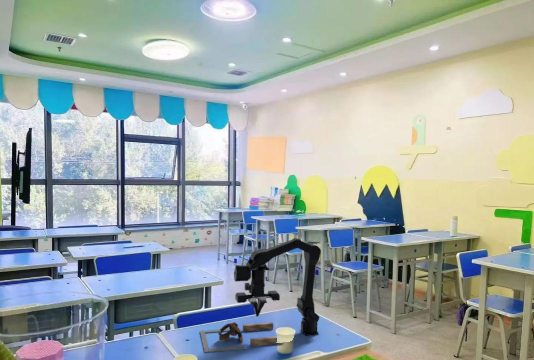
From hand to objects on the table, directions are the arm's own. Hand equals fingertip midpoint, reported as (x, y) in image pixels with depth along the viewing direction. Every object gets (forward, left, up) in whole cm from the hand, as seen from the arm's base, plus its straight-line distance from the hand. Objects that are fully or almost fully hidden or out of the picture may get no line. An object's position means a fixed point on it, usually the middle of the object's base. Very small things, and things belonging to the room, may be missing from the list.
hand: (257, 316), depth 162 cm
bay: (+14, 0, -9) cm, 17 cm away
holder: (-3, 0, -9) cm, 9 cm away
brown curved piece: (+11, +1, -9) cm, 15 cm away
